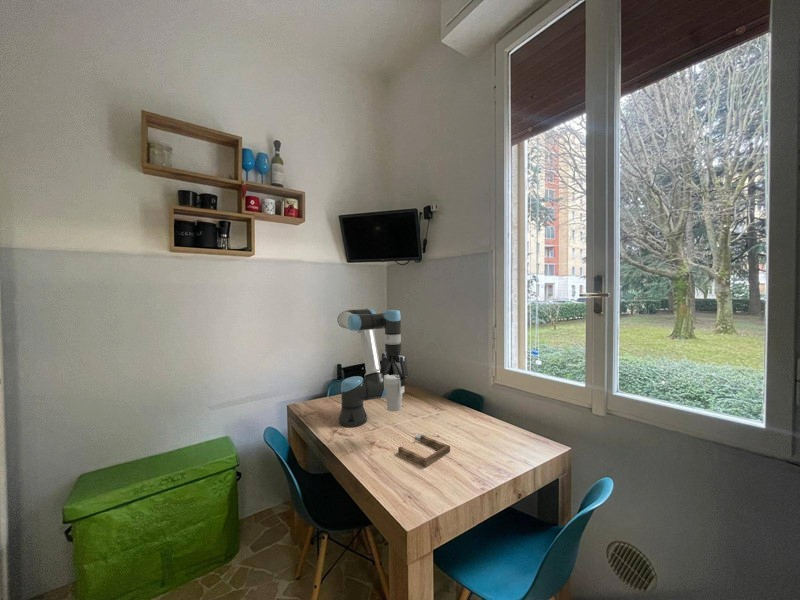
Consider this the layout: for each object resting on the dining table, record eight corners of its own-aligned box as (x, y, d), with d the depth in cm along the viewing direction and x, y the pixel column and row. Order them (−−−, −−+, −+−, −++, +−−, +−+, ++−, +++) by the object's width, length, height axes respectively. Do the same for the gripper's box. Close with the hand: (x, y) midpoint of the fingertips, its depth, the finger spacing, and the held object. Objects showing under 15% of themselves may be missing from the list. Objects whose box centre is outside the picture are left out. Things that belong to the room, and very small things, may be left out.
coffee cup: (402, 413, 138) (401, 380, 137) (382, 412, 139) (381, 379, 139) (406, 405, 147) (405, 374, 147) (387, 404, 149) (386, 374, 148)
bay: (398, 453, 130) (398, 447, 130) (422, 440, 142) (422, 434, 142) (426, 467, 120) (426, 461, 120) (450, 451, 131) (450, 446, 131)
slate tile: (415, 439, 143) (415, 436, 143) (418, 435, 147) (418, 433, 147) (422, 440, 141) (422, 438, 141) (426, 437, 145) (426, 435, 145)
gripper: (371, 341, 148) (372, 387, 148) (404, 346, 132) (405, 398, 133) (383, 339, 153) (384, 384, 153) (416, 344, 137) (417, 393, 138)
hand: (394, 390), depth 143 cm, fingers closed on coffee cup, 9 cm apart
